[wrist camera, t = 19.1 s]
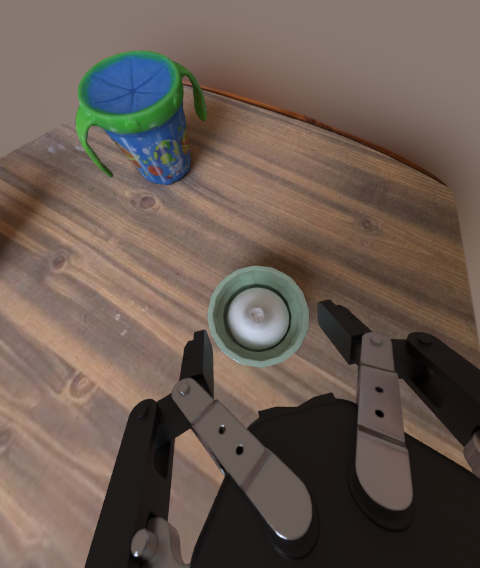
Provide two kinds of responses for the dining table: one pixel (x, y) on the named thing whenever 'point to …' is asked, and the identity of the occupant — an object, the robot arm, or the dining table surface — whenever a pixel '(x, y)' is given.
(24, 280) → the dining table surface
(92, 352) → the dining table surface
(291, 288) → the dish
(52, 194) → the dining table surface
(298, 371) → the dining table surface
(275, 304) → the garlic bulb
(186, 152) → the snack cup
